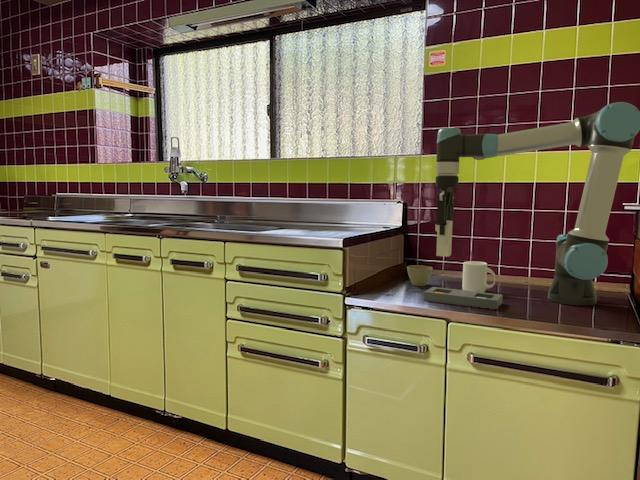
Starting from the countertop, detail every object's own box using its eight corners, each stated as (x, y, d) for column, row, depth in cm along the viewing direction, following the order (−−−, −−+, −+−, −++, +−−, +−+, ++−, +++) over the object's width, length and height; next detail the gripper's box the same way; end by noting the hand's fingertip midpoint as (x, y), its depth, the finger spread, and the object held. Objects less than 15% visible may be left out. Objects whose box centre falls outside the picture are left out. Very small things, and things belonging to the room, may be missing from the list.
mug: (491, 295, 176) (493, 266, 175) (458, 291, 182) (460, 263, 181) (498, 291, 183) (499, 263, 182) (466, 287, 190) (467, 260, 188)
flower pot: (431, 288, 188) (431, 269, 187) (405, 286, 191) (405, 268, 190) (432, 283, 197) (433, 265, 197) (407, 281, 200) (408, 264, 199)
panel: (502, 303, 164) (502, 294, 164) (496, 309, 156) (497, 300, 155) (432, 294, 176) (432, 286, 176) (423, 300, 168) (424, 291, 167)
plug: (451, 255, 168) (452, 220, 167) (447, 256, 165) (449, 221, 164) (436, 254, 171) (438, 220, 170) (433, 255, 167) (434, 220, 166)
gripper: (443, 175, 174) (440, 240, 176) (428, 174, 159) (425, 245, 162) (464, 175, 170) (461, 242, 173) (451, 174, 155) (448, 247, 158)
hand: (444, 243), depth 167 cm, fingers closed on plug, 4 cm apart
